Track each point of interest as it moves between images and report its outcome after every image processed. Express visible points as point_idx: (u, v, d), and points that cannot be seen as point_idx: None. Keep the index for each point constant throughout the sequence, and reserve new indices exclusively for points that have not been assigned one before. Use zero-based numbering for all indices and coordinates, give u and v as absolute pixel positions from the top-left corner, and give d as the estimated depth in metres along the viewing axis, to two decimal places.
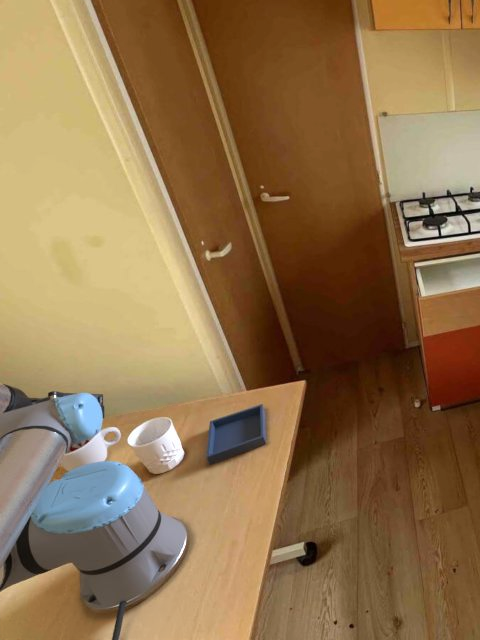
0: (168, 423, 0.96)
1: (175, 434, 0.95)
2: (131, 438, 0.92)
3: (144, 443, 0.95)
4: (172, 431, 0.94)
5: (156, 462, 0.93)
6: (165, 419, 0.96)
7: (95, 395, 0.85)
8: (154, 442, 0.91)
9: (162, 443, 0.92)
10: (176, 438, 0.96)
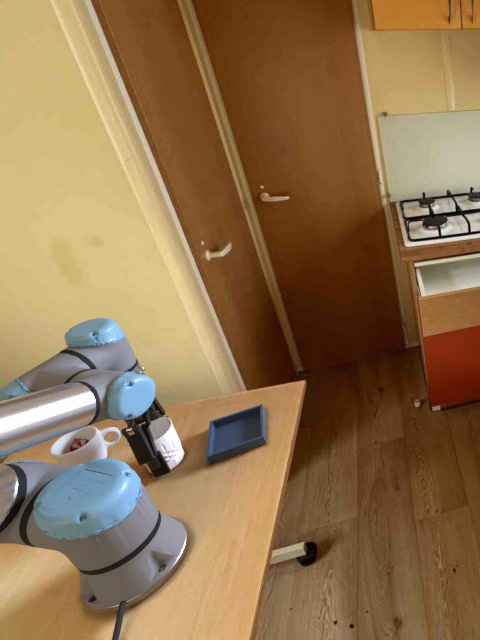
0: (168, 423, 0.96)
1: (175, 434, 0.95)
2: None
3: None
4: (172, 431, 0.94)
5: None
6: (165, 419, 0.96)
7: (149, 456, 0.88)
8: (154, 442, 0.90)
9: (162, 443, 0.92)
10: (176, 438, 0.96)
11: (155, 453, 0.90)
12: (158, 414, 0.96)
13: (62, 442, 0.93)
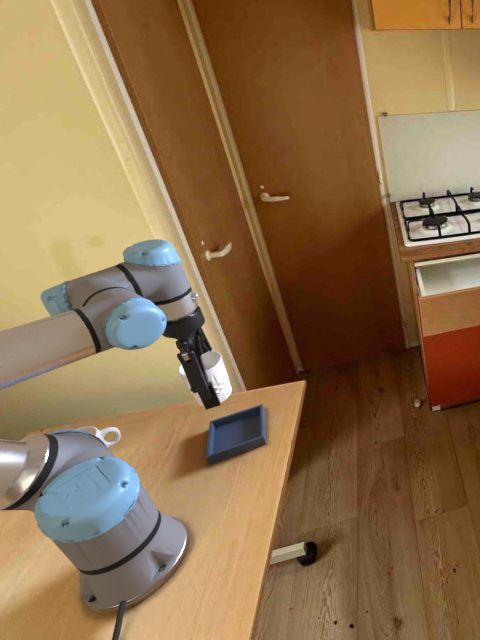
0: (216, 357, 0.96)
1: (224, 367, 0.95)
2: (182, 370, 0.91)
3: None
4: (222, 364, 0.94)
5: None
6: (214, 353, 0.95)
7: (203, 383, 0.87)
8: (206, 372, 0.90)
9: (213, 374, 0.91)
10: (225, 372, 0.95)
11: (207, 382, 0.89)
12: (207, 348, 0.95)
13: None
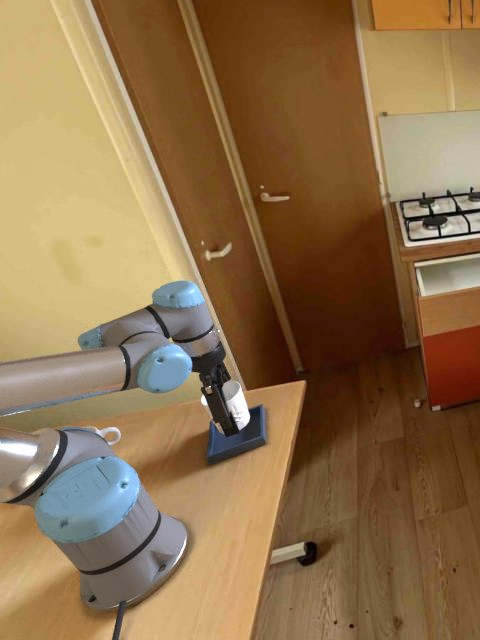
0: (236, 386, 1.01)
1: (243, 397, 1.00)
2: (203, 400, 0.96)
3: None
4: (241, 393, 0.99)
5: None
6: (233, 382, 1.00)
7: (224, 414, 0.92)
8: (227, 402, 0.95)
9: (233, 404, 0.96)
10: (244, 400, 1.00)
11: (228, 413, 0.94)
12: (226, 378, 1.00)
13: None
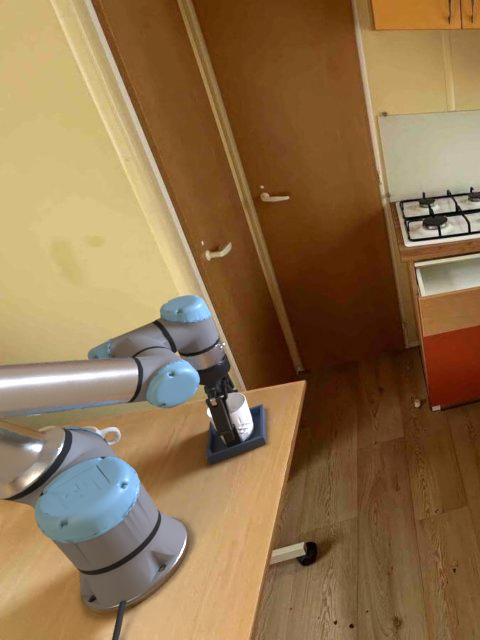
0: (241, 398, 1.02)
1: (248, 408, 1.02)
2: (209, 411, 0.98)
3: None
4: (246, 405, 1.00)
5: None
6: (238, 394, 1.02)
7: (228, 427, 0.93)
8: (232, 414, 0.97)
9: (238, 416, 0.98)
10: (249, 412, 1.02)
11: (231, 425, 0.95)
12: (230, 387, 1.02)
13: None
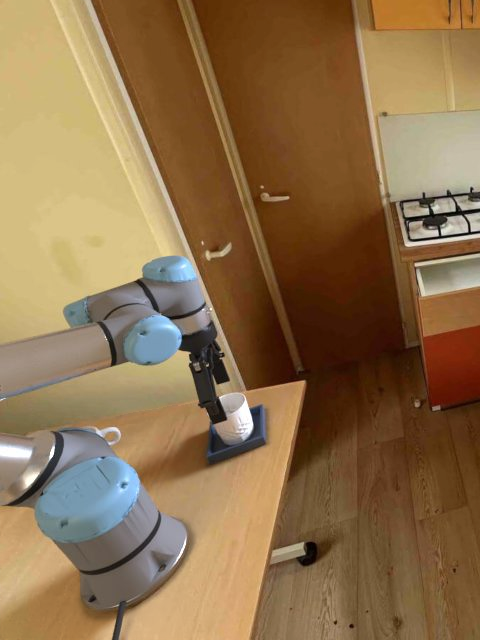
0: (241, 398, 1.02)
1: (248, 408, 1.02)
2: None
3: None
4: (246, 405, 1.00)
5: (232, 434, 0.99)
6: (238, 394, 1.02)
7: (211, 397, 0.86)
8: (232, 414, 0.97)
9: (238, 416, 0.98)
10: (249, 412, 1.02)
11: (215, 397, 0.88)
12: (217, 352, 0.98)
13: None
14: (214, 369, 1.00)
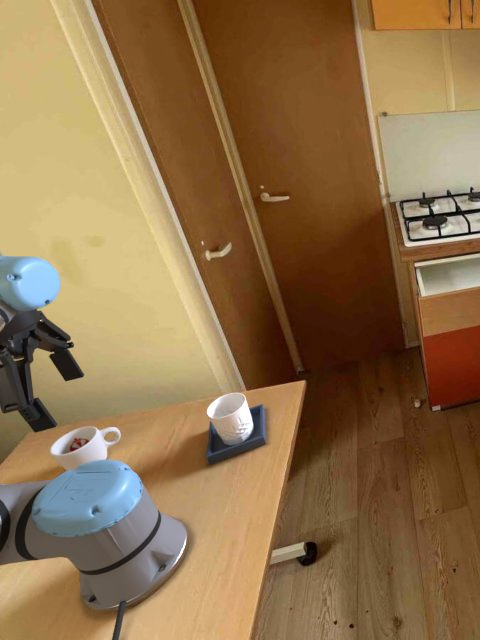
0: (241, 398, 1.02)
1: (248, 408, 1.02)
2: (209, 411, 0.98)
3: (219, 417, 1.01)
4: (246, 405, 1.00)
5: (232, 434, 0.99)
6: (238, 394, 1.02)
7: (17, 399, 0.68)
8: (232, 414, 0.97)
9: (238, 416, 0.98)
10: (249, 412, 1.02)
11: (29, 398, 0.70)
12: (56, 341, 0.80)
13: (62, 442, 0.93)
14: (58, 362, 0.82)
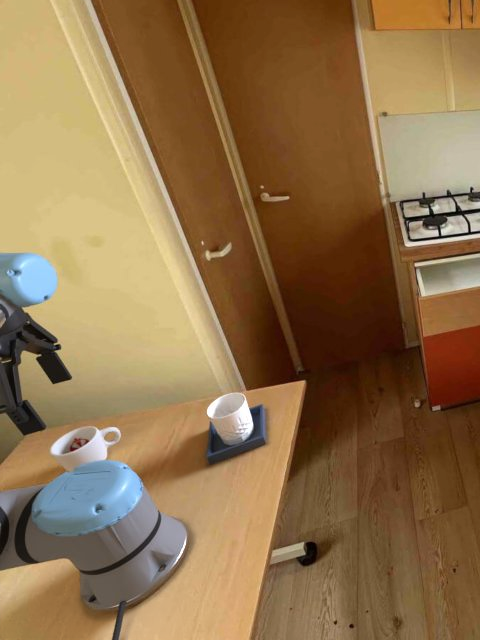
0: (241, 398, 1.02)
1: (248, 408, 1.02)
2: (209, 411, 0.98)
3: (219, 417, 1.01)
4: (246, 405, 1.00)
5: (232, 434, 0.99)
6: (238, 394, 1.02)
7: (6, 401, 0.67)
8: (232, 414, 0.97)
9: (238, 416, 0.98)
10: (249, 412, 1.02)
11: (18, 401, 0.69)
12: (44, 343, 0.79)
13: (62, 442, 0.93)
14: (45, 364, 0.81)
